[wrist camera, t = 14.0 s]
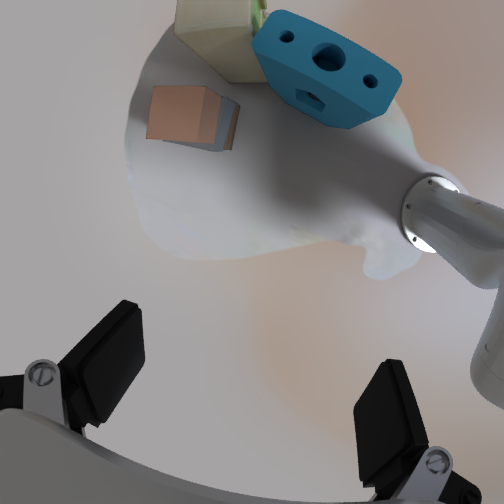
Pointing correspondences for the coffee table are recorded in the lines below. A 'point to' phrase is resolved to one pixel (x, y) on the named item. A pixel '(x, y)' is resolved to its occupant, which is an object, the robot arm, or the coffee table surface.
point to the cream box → (223, 35)
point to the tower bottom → (231, 128)
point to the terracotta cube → (183, 114)
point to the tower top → (221, 128)
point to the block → (323, 71)
